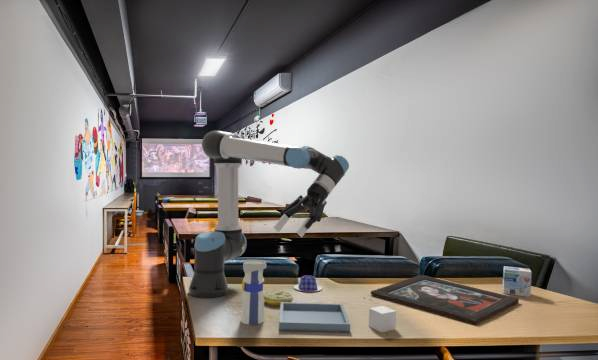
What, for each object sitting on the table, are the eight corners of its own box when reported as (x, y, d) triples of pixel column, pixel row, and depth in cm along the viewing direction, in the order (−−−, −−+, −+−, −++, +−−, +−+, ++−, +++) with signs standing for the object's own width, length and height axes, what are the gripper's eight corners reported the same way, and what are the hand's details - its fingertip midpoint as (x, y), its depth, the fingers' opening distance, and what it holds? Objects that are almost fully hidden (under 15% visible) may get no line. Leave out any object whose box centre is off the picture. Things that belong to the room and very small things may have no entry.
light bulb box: (502, 293, 181) (504, 268, 181) (501, 289, 187) (502, 265, 187) (531, 297, 177) (532, 271, 177) (529, 293, 183) (530, 268, 183)
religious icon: (417, 279, 200) (418, 273, 200) (519, 304, 168) (519, 297, 168) (367, 295, 172) (367, 288, 172) (477, 329, 140) (477, 320, 140)
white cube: (381, 332, 131) (381, 313, 131) (368, 326, 137) (369, 308, 136) (395, 329, 135) (396, 310, 134) (382, 323, 140) (383, 305, 140)
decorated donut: (298, 303, 158) (298, 293, 158) (277, 309, 150) (278, 299, 150) (278, 297, 165) (279, 287, 165) (258, 302, 157) (258, 292, 157)
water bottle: (240, 325, 133) (242, 246, 132) (238, 316, 141) (241, 242, 141) (266, 324, 134) (268, 246, 134) (263, 315, 143) (265, 242, 142)
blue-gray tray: (278, 330, 130) (279, 322, 130) (280, 309, 150) (280, 302, 150) (350, 332, 130) (350, 324, 130) (342, 311, 150) (342, 303, 150)
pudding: (320, 285, 184) (321, 273, 184) (323, 293, 172) (324, 280, 172) (293, 285, 184) (293, 273, 184) (294, 293, 172) (294, 280, 172)
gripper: (349, 198, 149) (315, 244, 140) (305, 194, 169) (273, 234, 160) (338, 183, 146) (303, 229, 137) (294, 181, 165) (261, 221, 156)
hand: (287, 232), depth 148 cm, fingers open, 13 cm apart
